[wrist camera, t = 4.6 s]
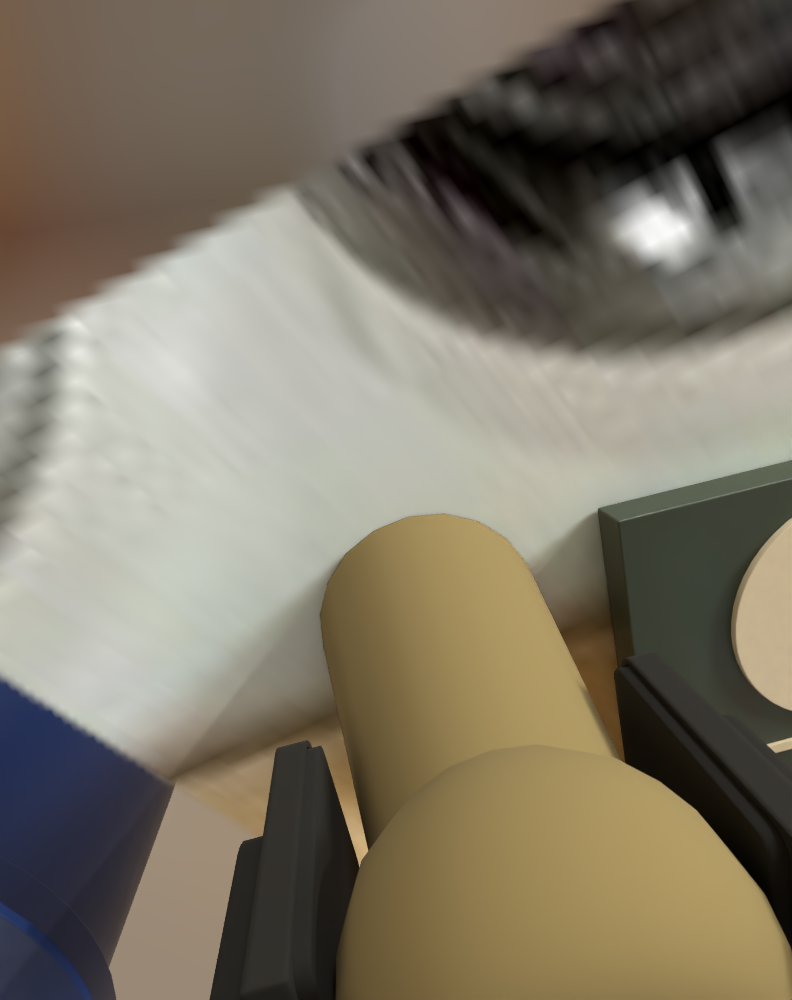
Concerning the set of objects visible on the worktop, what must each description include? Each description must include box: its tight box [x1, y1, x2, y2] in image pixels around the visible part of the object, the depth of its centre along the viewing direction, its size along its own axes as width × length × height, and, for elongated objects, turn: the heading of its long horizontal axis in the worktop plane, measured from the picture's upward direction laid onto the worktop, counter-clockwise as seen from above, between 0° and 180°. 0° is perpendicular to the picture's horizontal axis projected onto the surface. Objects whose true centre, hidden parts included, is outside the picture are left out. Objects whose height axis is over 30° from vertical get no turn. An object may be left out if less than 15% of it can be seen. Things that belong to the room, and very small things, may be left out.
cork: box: [320, 514, 792, 1000], centre depth 10 cm, size 6×6×11 cm
